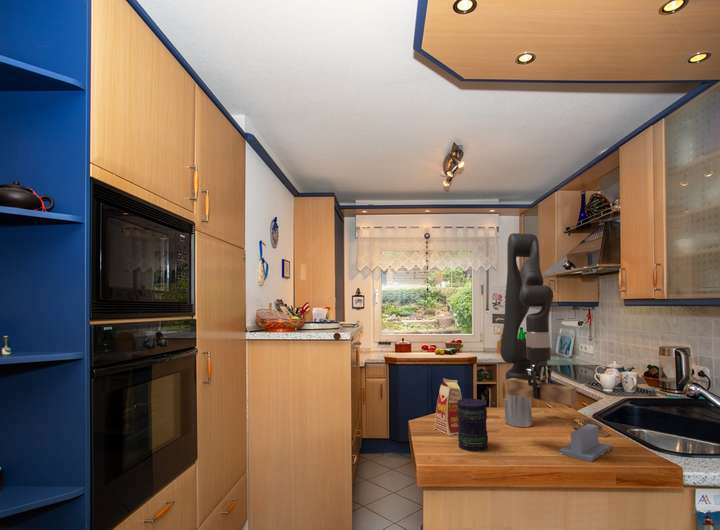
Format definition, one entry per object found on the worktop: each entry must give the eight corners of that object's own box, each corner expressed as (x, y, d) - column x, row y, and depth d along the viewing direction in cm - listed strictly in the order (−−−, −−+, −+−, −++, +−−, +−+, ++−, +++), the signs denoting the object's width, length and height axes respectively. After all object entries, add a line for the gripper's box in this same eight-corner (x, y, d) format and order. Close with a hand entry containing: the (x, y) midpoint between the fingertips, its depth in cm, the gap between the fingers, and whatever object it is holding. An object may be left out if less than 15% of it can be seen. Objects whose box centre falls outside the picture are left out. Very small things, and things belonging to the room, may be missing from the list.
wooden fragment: (615, 439, 157) (615, 436, 157) (581, 438, 159) (581, 435, 159) (592, 419, 182) (592, 416, 182) (563, 418, 184) (563, 416, 184)
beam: (507, 394, 154) (506, 379, 155) (513, 392, 157) (512, 378, 157) (571, 405, 138) (570, 389, 138) (576, 403, 141) (576, 387, 141)
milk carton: (448, 436, 163) (447, 380, 164) (433, 429, 171) (432, 376, 172) (468, 432, 167) (466, 378, 168) (452, 426, 175) (450, 374, 176)
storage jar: (487, 453, 145) (485, 406, 146) (456, 450, 148) (454, 404, 149) (489, 443, 154) (487, 399, 155) (460, 440, 157) (459, 397, 158)
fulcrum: (559, 453, 143) (558, 431, 144) (579, 441, 154) (578, 421, 154) (592, 461, 136) (590, 438, 136) (611, 449, 147) (610, 427, 147)
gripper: (537, 342, 156) (539, 392, 155) (516, 346, 147) (518, 399, 146) (559, 344, 150) (561, 396, 149) (538, 348, 141) (540, 403, 140)
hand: (540, 397), depth 148 cm, fingers closed on beam, 4 cm apart
